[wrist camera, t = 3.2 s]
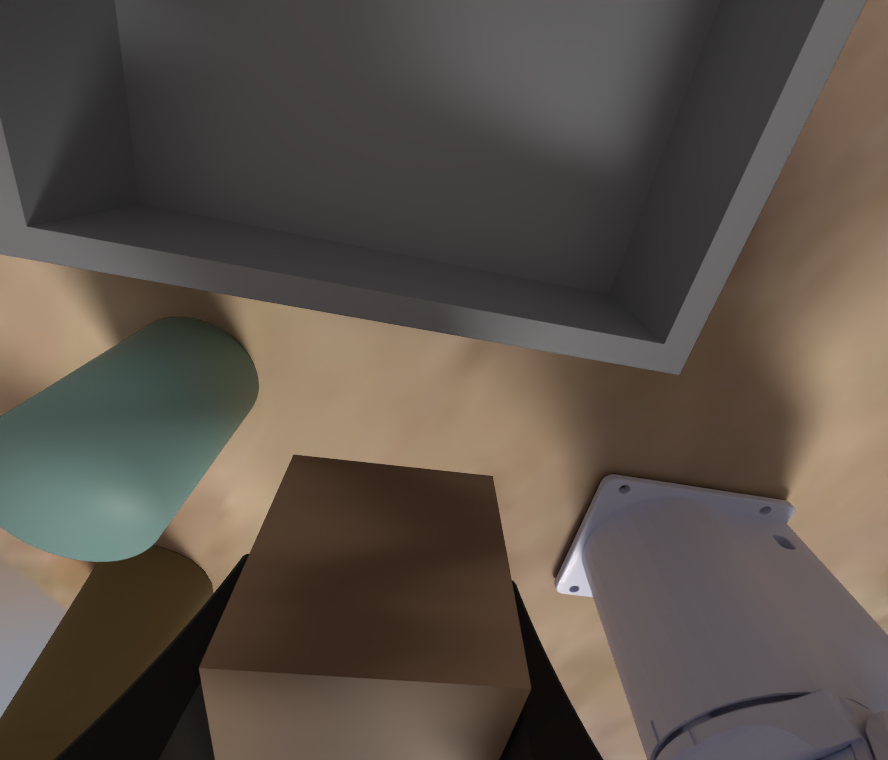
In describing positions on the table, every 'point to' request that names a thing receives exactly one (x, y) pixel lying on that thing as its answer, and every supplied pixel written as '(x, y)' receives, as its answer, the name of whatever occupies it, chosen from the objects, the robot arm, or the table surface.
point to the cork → (101, 649)
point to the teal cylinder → (122, 440)
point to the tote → (415, 154)
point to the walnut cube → (370, 622)
